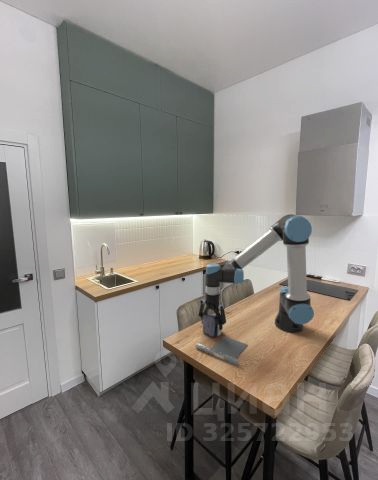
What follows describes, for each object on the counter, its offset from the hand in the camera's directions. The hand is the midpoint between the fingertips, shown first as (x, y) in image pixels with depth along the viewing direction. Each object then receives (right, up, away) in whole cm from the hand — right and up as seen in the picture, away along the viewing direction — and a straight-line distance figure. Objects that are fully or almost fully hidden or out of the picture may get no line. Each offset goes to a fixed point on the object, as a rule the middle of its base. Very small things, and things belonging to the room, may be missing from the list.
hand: (211, 331), depth 135 cm
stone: (0, -1, 0) cm, 1 cm away
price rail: (0, -4, -20) cm, 20 cm away
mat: (+7, -3, -14) cm, 16 cm away
